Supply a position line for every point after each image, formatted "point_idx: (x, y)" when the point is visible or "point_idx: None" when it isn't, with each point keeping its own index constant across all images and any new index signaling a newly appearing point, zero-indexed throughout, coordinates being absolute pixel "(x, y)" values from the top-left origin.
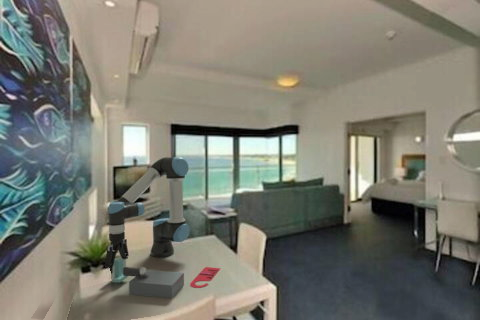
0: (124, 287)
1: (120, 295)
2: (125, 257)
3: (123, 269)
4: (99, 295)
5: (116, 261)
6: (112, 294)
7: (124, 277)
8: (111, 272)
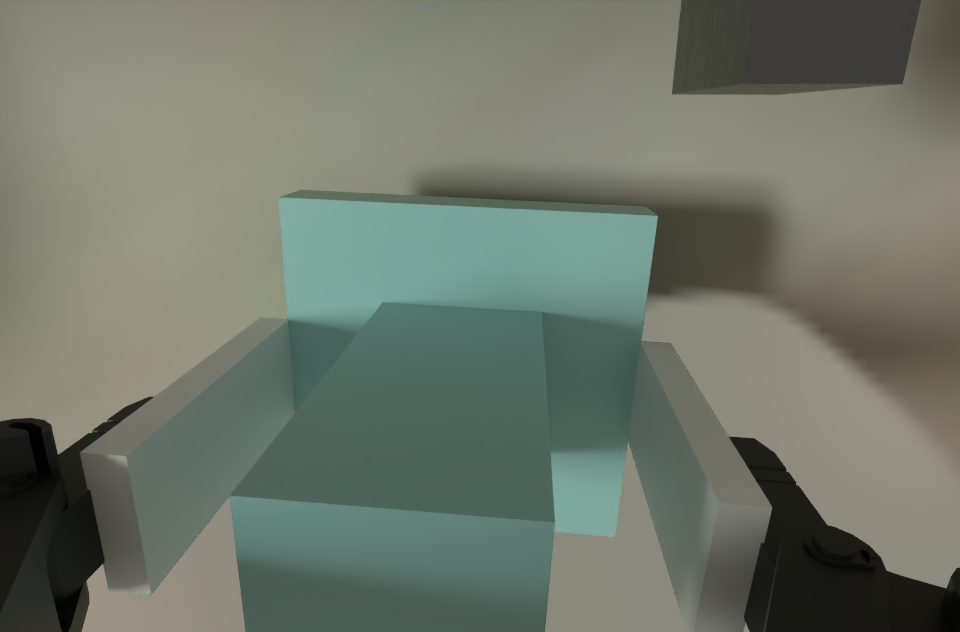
0: (627, 116)
1: (934, 8)
2: (31, 497)
3: (882, 65)
4: (900, 363)
5: (547, 591)
6: (882, 180)
7: (500, 203)
8: (747, 451)
